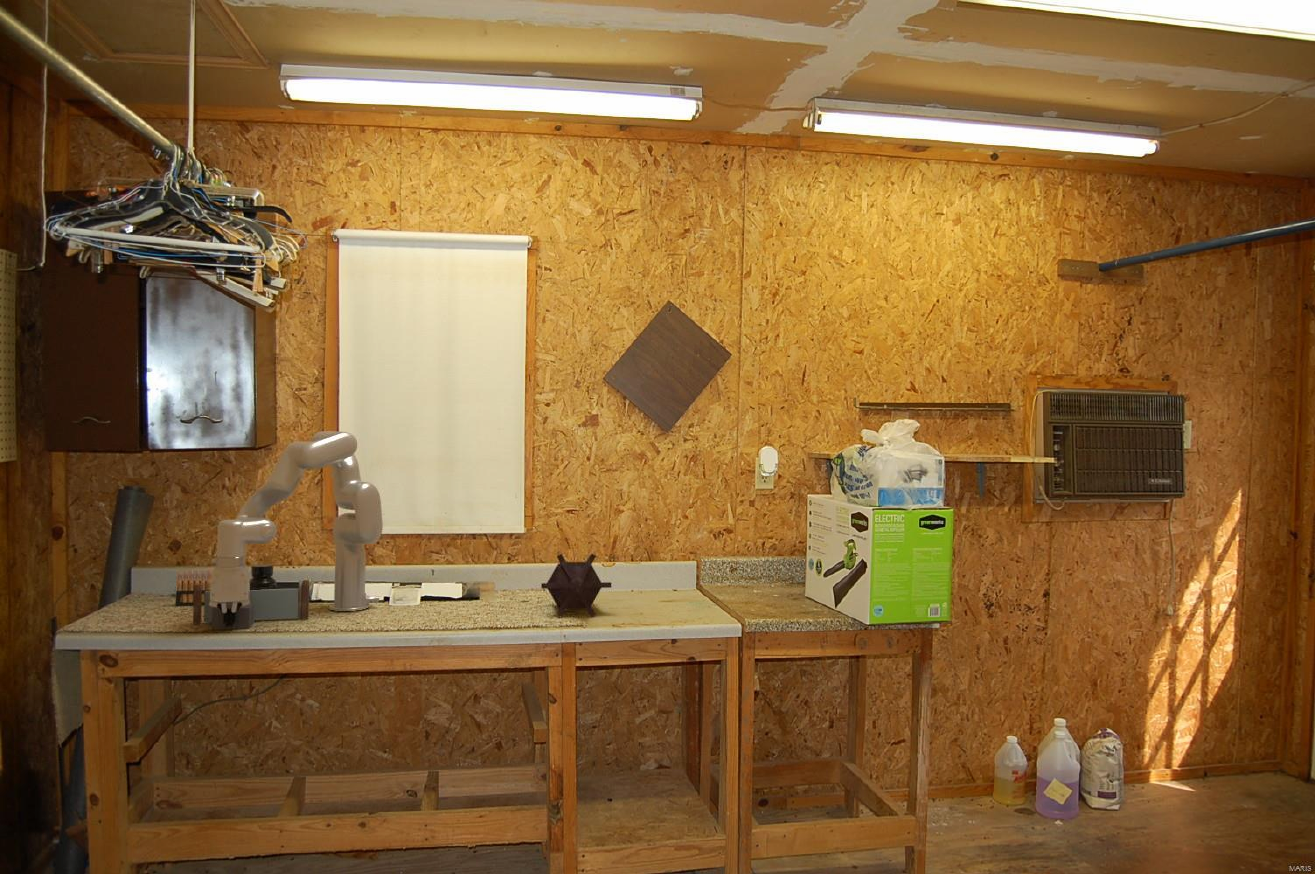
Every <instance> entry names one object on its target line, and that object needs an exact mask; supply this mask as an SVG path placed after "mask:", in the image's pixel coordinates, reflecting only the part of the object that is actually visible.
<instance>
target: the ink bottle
mask: <svg viewBox="0 0 1315 874" xmlns="http://www.w3.org/2000/svg"><path fill="white" fill-rule="evenodd" d="M250 570H251V571H250V575H251V578H250V587H253V588H260V587H271V586H274V585H276V586H277V581H276V579H275V578H274V577H273V575H274V564H272V563H259V564H256V563H255V564H252V565H251V569H250Z"/></svg>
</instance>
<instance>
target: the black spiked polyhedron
mask: <svg viewBox="0 0 1315 874" xmlns="http://www.w3.org/2000/svg"><path fill="white" fill-rule="evenodd" d="M556 558H557V560H558V562H559V563H558V564H557V565H556V566H555V568H554V570H553V572H552V574H551V575H550V577H549V578H548V580H547V582H545V583H544V582H543V583H541V584H540V585H541V587H540V588H541V589H543V590H545V589H547V590H548V592H549V594H550V596H551V597H552V599H553V601H554V603H555V604H556V606H557V607H558V606H561V607H559V609H558V610H557V613H556V617H558V616H562V617H563V616H564V613H565V612H566V610H586V612H587V613H588V614H589V616H590V617H591V618H594V617H595V616H596V615H597V613H596V612H595V610H594V608H593V606H592V605H594V604H593V603H594V602H595V600H596V598H597V597H598V595H599V593H600V591H601V590H602V589H603V588H605V589H606V588H608V589H609V588H612V582H611V581H610V582H609V581H607V582H603V581H602V582H601V579H600V577H599V576H598V574H597V572H596V571H595V569H594V567H593V565H592V564H593V562H594V561H595V559H596V558H597V555H596V554H593V553H591V554H590V555H589V556H588V558H587V560H586V561H566V559H565V558H564V556H563V554H562V553H561V554H559V555H557V556H556Z"/></svg>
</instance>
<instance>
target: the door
mask: <svg viewBox="0 0 1315 874" xmlns="http://www.w3.org/2000/svg"><path fill="white" fill-rule="evenodd" d="M249 598H250V604H254V620H253V621H260V620H261V621H264V620H266V621H267V620H287V619H289V620H290V619H298V610H299V587H298V588H276V589H261V590H250V595H249ZM209 602H210V591H205V596H204V606H203V622H204V623H212V609H213V608H214V607H213V606H209ZM238 603H239V602H238ZM227 605H233V603H227Z"/></svg>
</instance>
